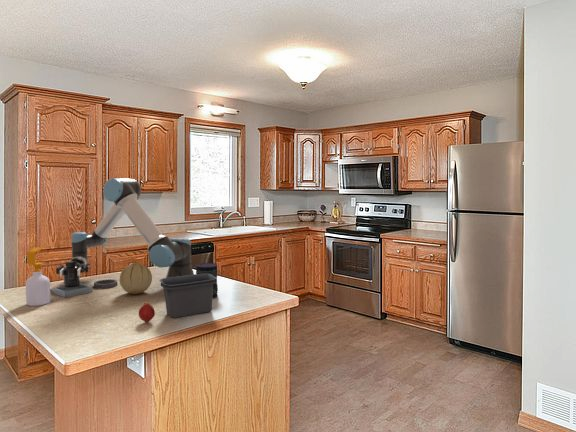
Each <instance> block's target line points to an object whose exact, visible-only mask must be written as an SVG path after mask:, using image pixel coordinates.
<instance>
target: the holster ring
mask: <svg viewBox="0 0 576 432" xmlns="http://www.w3.org/2000/svg"><path fill="white" fill-rule="evenodd" d="M115 287H118V280H117V279H102V280H101V279H100V280H97V281H94V282H93V288H95V289H109V288H115Z"/></svg>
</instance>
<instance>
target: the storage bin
mask: <svg viewBox="0 0 576 432" xmlns="http://www.w3.org/2000/svg"><path fill="white" fill-rule="evenodd" d="M215 279H216V277H215V276H213V275H211V274H196V273H195V274H194V275H186V276H178V277H169V278H166V277H163V278H161V279H159V282H160V286H161V287H162V288H163V295H164V300H165V301H164V302H165V310H166V313H167V314H168V316H169V317H171V318H172V319H176V318H182V317H189V316H194V315H200V314H206V313H210V312H212V310H213V299H212V296H213V284H215V283H216V281H215Z"/></svg>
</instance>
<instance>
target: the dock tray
mask: <svg viewBox="0 0 576 432" xmlns="http://www.w3.org/2000/svg"><path fill="white" fill-rule="evenodd" d="M92 292H93V286H91V285H88V284H84V283H81V282H80V285H79V286H77V287H65V286H64V285H61V286H55V287H51V294H53V295H56V296H60V297H62V298H69V297H73V296H79V295H84V294H89V293H92Z"/></svg>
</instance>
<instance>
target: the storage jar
mask: <svg viewBox="0 0 576 432" xmlns="http://www.w3.org/2000/svg"><path fill="white" fill-rule="evenodd" d="M195 267H196V271H195V274H211V275H213V276H215V277H216V279H215V281H216V283H215V284H213V296H212V300H213V299H216V298H217V297H218V296H219V295H218V293H219V292H218V291H219V290H218V288H219V286H218V264H217V263H216V262H202V263H197V264H195Z"/></svg>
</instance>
